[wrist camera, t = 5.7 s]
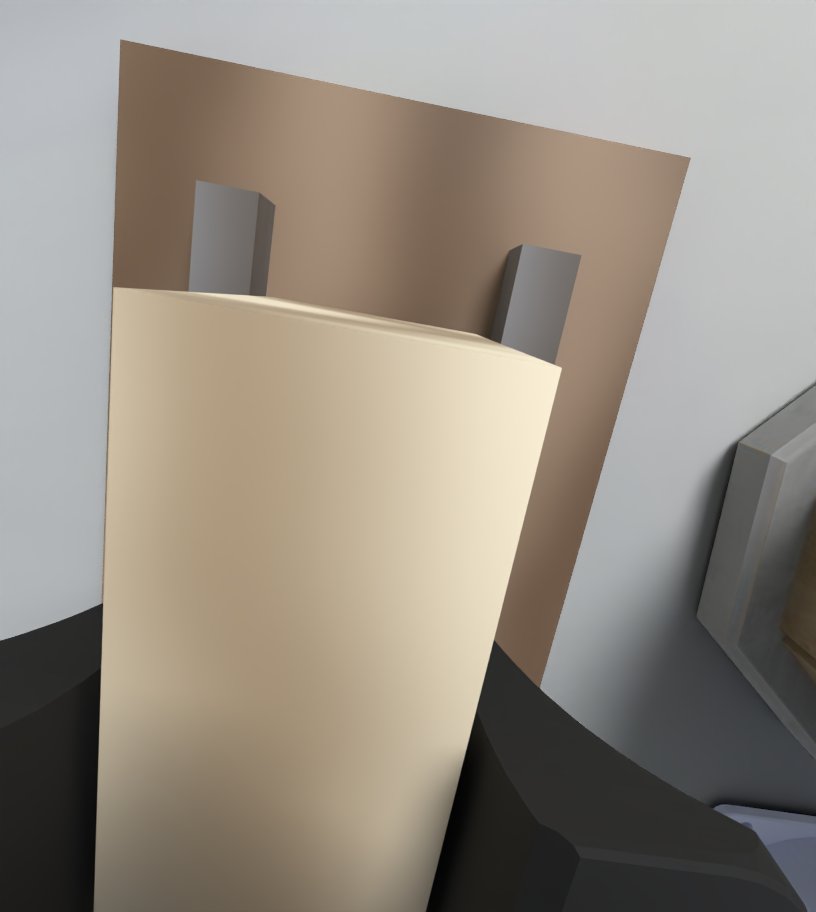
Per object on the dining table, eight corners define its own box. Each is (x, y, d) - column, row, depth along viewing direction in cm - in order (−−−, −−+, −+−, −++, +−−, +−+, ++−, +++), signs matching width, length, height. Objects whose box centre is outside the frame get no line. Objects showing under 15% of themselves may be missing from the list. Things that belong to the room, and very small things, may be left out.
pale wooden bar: (476, 334, 11) (564, 368, 5) (378, 808, 14) (362, 1169, 8) (270, 296, 10) (110, 286, 5) (218, 788, 14) (84, 1144, 8)
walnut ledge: (664, 171, 13) (728, 138, 10) (477, 850, 18) (489, 937, 16) (147, 65, 12) (81, 2, 10) (114, 804, 18) (66, 887, 15)
